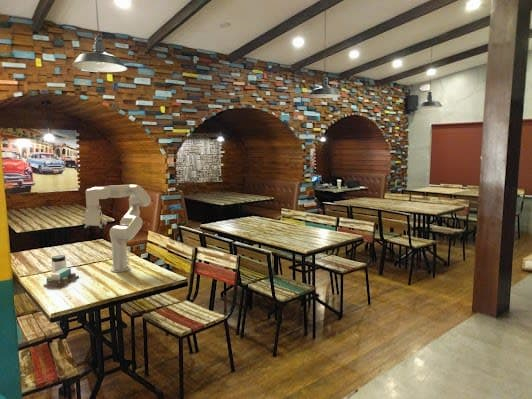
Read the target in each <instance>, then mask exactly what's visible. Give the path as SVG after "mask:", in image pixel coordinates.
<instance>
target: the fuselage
mask: <svg viewBox="0 0 532 399" xmlns="http://www.w3.org/2000/svg"><path fill="white" fill-rule="evenodd" d="M71 273H72V268H71V267H67V268H63V269H61V270H59V271H57V272H55V273H53V274H52V273H51V274H50V277H51V280H59V284H60V283H61V279H62V278H63V277H67V279H69V274H71Z"/></svg>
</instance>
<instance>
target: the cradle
mask: <svg viewBox="0 0 532 399" xmlns="http://www.w3.org/2000/svg"><path fill="white" fill-rule="evenodd" d="M79 278H80V275H76V272H71V274H69V279H67V277H63V278H62V279H61V283H60V284H59V280H51V276H49V277H47V278H46V283H45V284H43V287H44V288H63V287H65V286H67V285H68V284H71V283H72V282H73V281H76V280H77V279H79Z"/></svg>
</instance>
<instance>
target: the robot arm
mask: <svg viewBox="0 0 532 399" xmlns="http://www.w3.org/2000/svg"><path fill="white" fill-rule="evenodd" d="M126 197H129V199H128V204H129V208H128V210H127V212H126V213H125V214H124V215H123V216H122V218H121V219H120V222H119V224H120V225H113V226H112V227H110V229H109V237H110V241H111V251H112V254H111V256H112V267H111V268H110V271H111V272H112V273H123V272H127V271H130V269H131V267H130V266H129V265H128V264H129V263H130V261H129V260H128V255H127V254H128V253H127V252H128V251H127V243H126V241H131V240H133V239H134V237H135V236H136V235H137V234H138V232H139V231H140V230H141V228H142V226H143V223H144V222H143V219H142V217H141V216H140V214H141V211H140V207H148V206H149V205H150V204H151V202H152V200H151V196H150V195H149V193H148V192H147V191H146V190H145V188H143V187H142V186H141V185H139V184H119V185H117V184H116V185H103V186H94V187H93V186H92V187H91V188H87V189H86V190H85V203H86V209H85V216H84V219H82V220H81V221H80V223H81V225H82V227H83V228H84V229H85V235H89V234H90V226H91V227H92V226H95V227H97V226H98V227H99V235H103V234H104V232H105V231H104V228H105V227H106V225H107V223H108V221H107V220H106V219H104V217H103V213H102V210H101V209H102V206H101V205H100V200H107V199H108V198H111V199H112V198H113V199H114V198H116V199H117V198H126Z"/></svg>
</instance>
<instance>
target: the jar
mask: <svg viewBox="0 0 532 399" xmlns="http://www.w3.org/2000/svg"><path fill="white" fill-rule="evenodd" d="M50 263H51V271H52V272H51V274H53V273H55V272H57V271H59V270H61V269H63V268H68V267H67V259H66V256H65V255H64V254H60V255H59V254H57V255H53V256H51V262H50Z"/></svg>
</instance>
